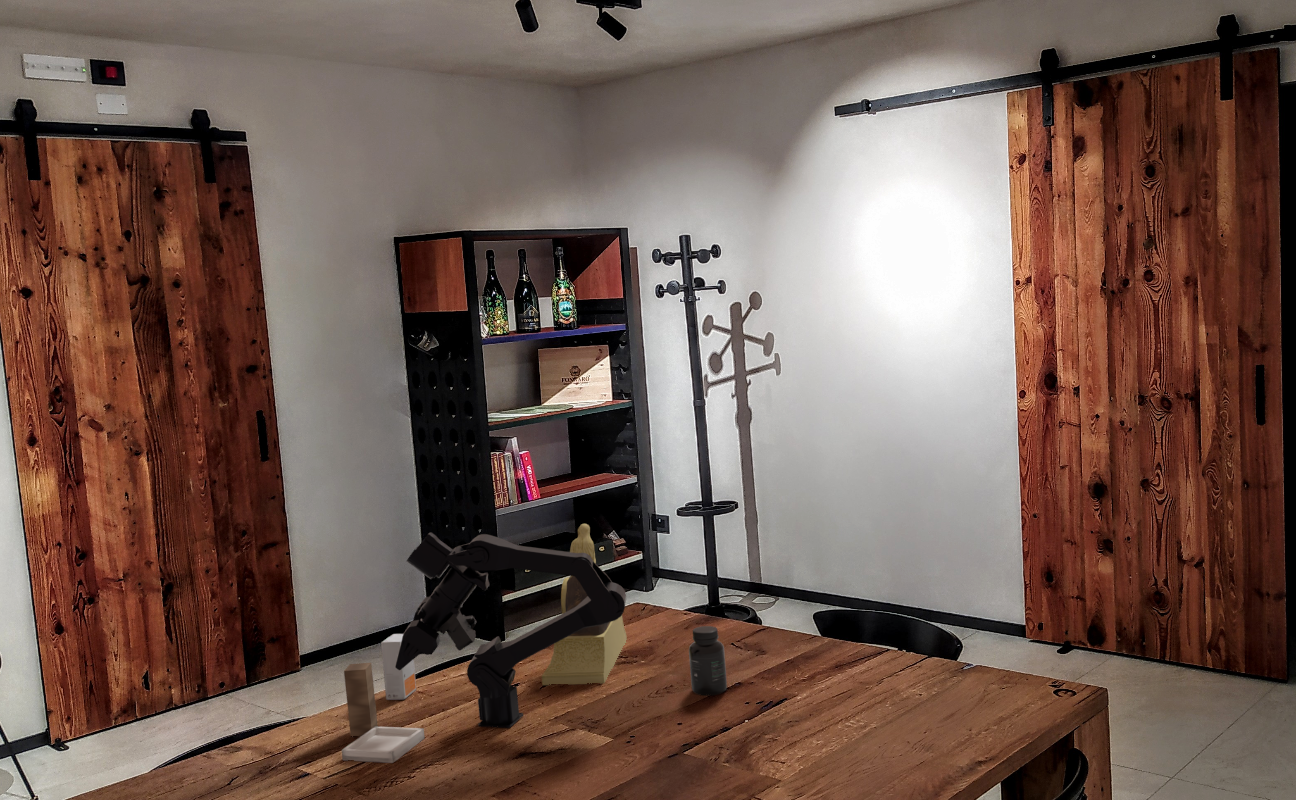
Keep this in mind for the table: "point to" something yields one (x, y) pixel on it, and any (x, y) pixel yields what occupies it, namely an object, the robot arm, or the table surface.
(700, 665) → the supplement bottle
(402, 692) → the skincare box
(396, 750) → the tray
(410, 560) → the robot arm
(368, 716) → the wooden block
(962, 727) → the table surface
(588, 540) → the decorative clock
